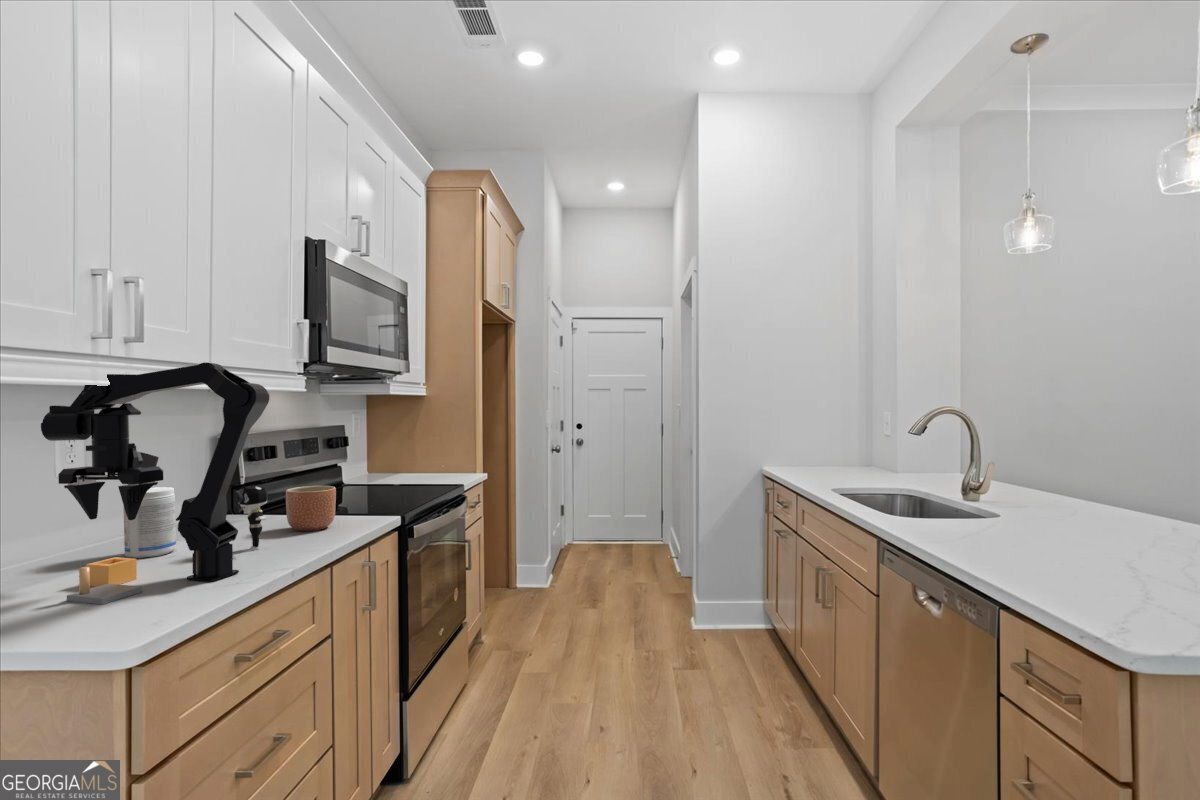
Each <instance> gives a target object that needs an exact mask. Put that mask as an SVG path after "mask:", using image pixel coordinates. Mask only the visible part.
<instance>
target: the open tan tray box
mask: <svg viewBox="0 0 1200 800" xmlns="http://www.w3.org/2000/svg"><path fill="white" fill-rule="evenodd" d="M137 559H138V558H130V557H117V556H116V557H111V558H106V559H103V560H98V561H95V562H90V563H86V565H85V567H90V587H97V586H101V585H104V584H119V585H123V584H125V583H128V582H129V583H130V582H132V581H136V580H137V579H138V578H137V575H138V574H137V573H138V572H137V565H138V564H137V563H138V562H137Z"/></svg>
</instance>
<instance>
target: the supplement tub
mask: <svg viewBox="0 0 1200 800" xmlns="http://www.w3.org/2000/svg"><path fill="white" fill-rule="evenodd" d="M176 519H177V518H176V496H175V489H174V487H169V486H161V487H159V486H158V487H151V488H150V489H149V490H148V491H147V492H146V494H145V496H144V498H143V500H142V503H141V505H140V508H139V511H138V513H137V516H136V518H135V519H134V520H128V517H127V515H126V512H125V509H124V505H123V533H124V535H123V538H124V539H123V540H124V541H123V543H124V544H123V545H124V555H125V556H126V558H132V559H143V558H153V557H160V556H163V555H168V554H170V553H172V552H174V551H175V550H176V548H177V531H176V530H177V529H176V525H177V524H176V522H177V521H176Z"/></svg>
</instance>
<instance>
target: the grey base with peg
mask: <svg viewBox="0 0 1200 800" xmlns="http://www.w3.org/2000/svg"><path fill="white" fill-rule="evenodd" d="M78 572H79V573H78V574H79V576H78V577H79V579H78V581H79V583H78V585H79V586H78V588H79V591H76V592H73V593H70V594H69V593H68V594H66V602H74V603H84V604H85V603H86V604H95V605H96V604H97V605H105V604H108V603H111V602H114V601H118V600H120V599H123V598H128V597H129V596H133V595H136V594H139V593H142V591H143V590H142V589H143V586H141V585H129V584H128V585H127V584H104V585H101V586H93V587H91V586H90V567H86V566H83V567H79V568H78Z"/></svg>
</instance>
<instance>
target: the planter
mask: <svg viewBox="0 0 1200 800" xmlns="http://www.w3.org/2000/svg"><path fill="white" fill-rule="evenodd" d="M336 500H337V488H336V487H335V486H331V485H310V486H309V485H308V486H307V485H306V486H298V487H292V488H288V489H286V491H285V509H286V520H287V523H288V525H289V526H290V527H291V528H292V529H293V530H296V531H298V532H313V531H319V530H323V529H326V528H328V527H329V526H330V525H331V524H332V523H333V522H334V520H335V517H336Z"/></svg>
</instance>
